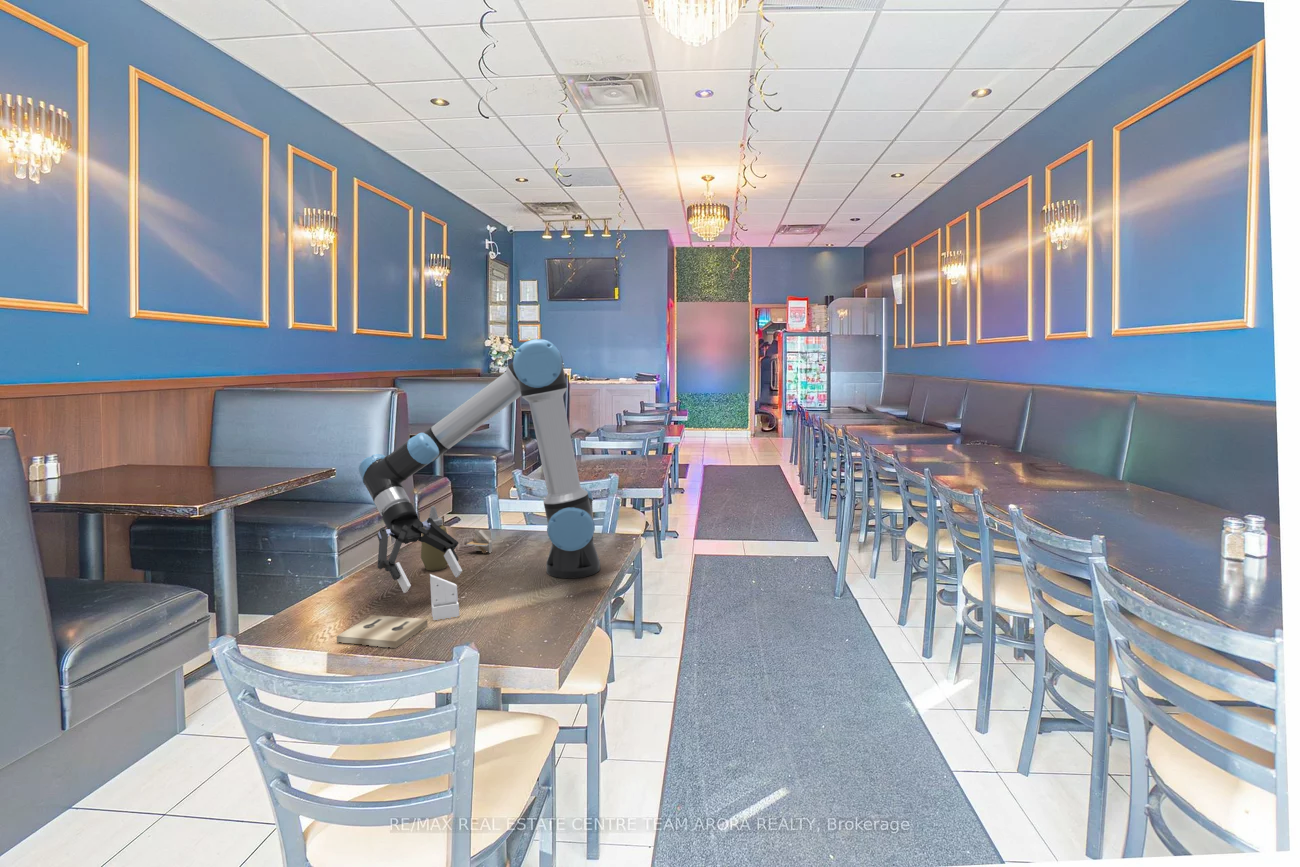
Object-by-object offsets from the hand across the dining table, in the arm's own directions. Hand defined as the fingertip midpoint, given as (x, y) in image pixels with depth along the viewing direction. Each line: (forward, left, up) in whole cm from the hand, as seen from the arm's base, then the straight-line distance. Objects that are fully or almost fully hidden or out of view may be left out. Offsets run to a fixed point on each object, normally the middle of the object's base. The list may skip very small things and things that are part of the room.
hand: (434, 581), depth 153 cm
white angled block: (-3, +1, -8) cm, 9 cm away
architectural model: (+13, -50, -9) cm, 52 cm away
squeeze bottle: (+19, -33, -8) cm, 39 cm away
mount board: (+5, +12, -8) cm, 16 cm away
